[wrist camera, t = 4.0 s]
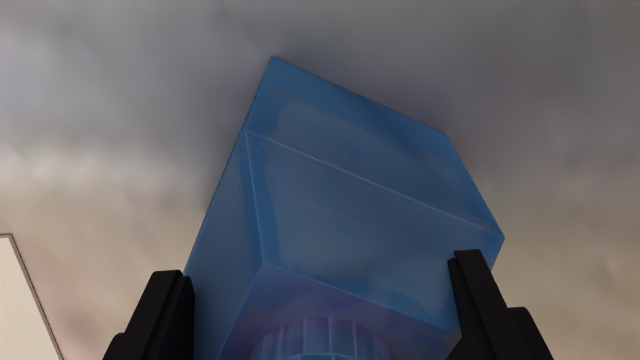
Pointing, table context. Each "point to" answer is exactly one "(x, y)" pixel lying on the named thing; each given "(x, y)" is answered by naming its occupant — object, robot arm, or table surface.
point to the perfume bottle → (333, 232)
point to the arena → (21, 312)
